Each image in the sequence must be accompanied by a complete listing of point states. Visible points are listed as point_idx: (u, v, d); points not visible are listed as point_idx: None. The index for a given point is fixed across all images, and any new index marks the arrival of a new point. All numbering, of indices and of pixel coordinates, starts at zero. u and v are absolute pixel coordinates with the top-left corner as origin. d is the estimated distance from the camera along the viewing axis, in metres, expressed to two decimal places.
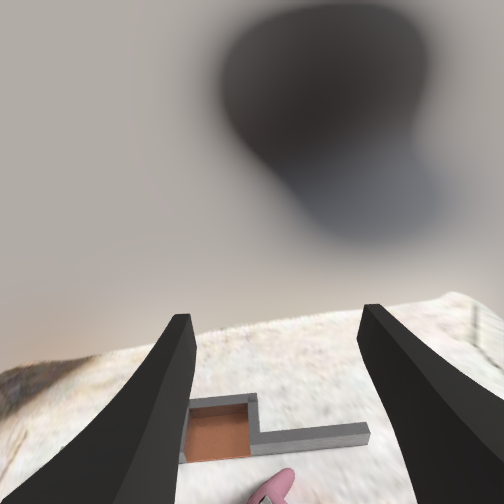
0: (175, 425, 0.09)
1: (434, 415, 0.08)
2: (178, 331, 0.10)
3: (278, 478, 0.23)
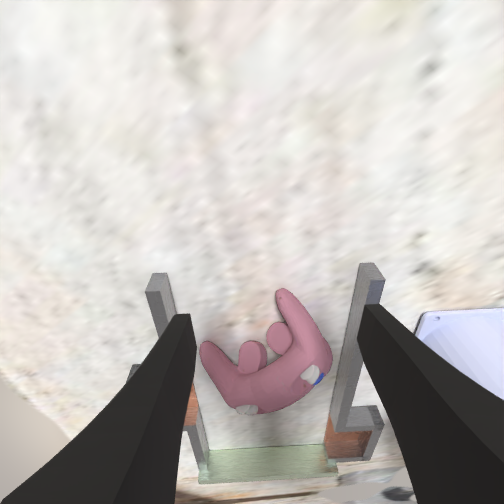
0: (175, 425, 0.09)
1: (434, 415, 0.08)
2: (178, 331, 0.10)
3: (215, 381, 0.23)
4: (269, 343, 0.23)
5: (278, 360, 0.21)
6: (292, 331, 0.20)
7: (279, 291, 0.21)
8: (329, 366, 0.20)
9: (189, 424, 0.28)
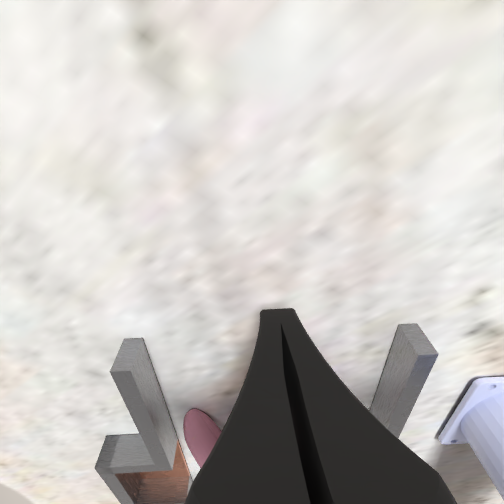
0: None
1: (303, 422, 0.08)
2: (275, 326, 0.10)
3: None
4: None
5: None
6: None
7: None
8: None
9: (178, 501, 0.23)
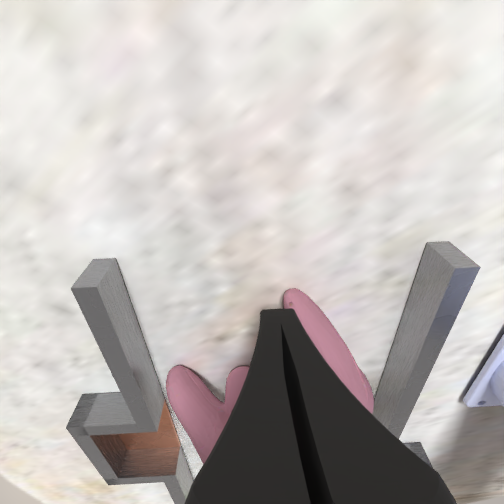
0: None
1: (303, 422, 0.08)
2: (275, 325, 0.10)
3: (188, 430, 0.15)
4: None
5: None
6: None
7: (289, 293, 0.13)
8: None
9: (166, 473, 0.20)
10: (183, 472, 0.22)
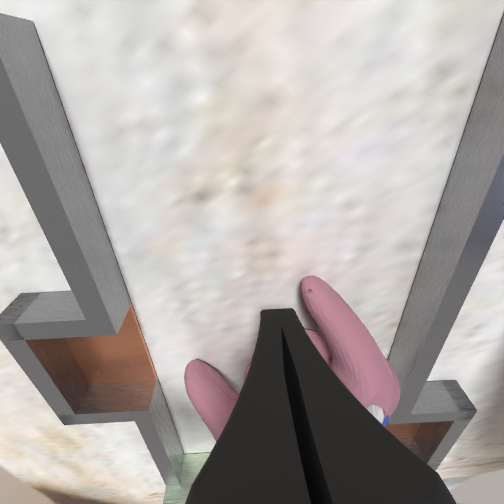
0: None
1: (303, 422, 0.08)
2: (275, 326, 0.10)
3: (209, 424, 0.14)
4: None
5: None
6: (333, 346, 0.12)
7: (307, 280, 0.13)
8: (396, 403, 0.12)
9: (137, 409, 0.16)
10: (161, 414, 0.18)
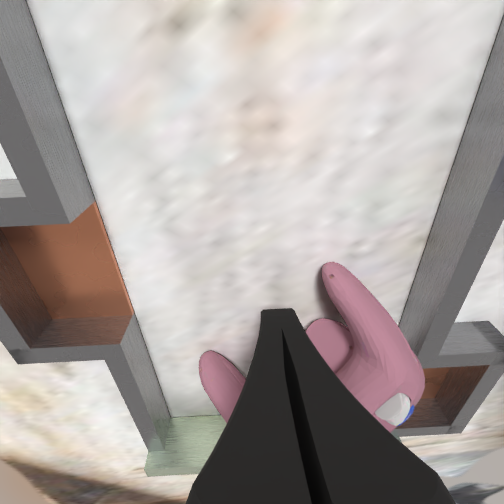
0: None
1: (303, 422, 0.08)
2: (276, 325, 0.10)
3: (225, 415, 0.14)
4: None
5: None
6: (356, 333, 0.12)
7: (328, 266, 0.12)
8: (421, 392, 0.12)
9: (107, 343, 0.13)
10: (139, 358, 0.15)
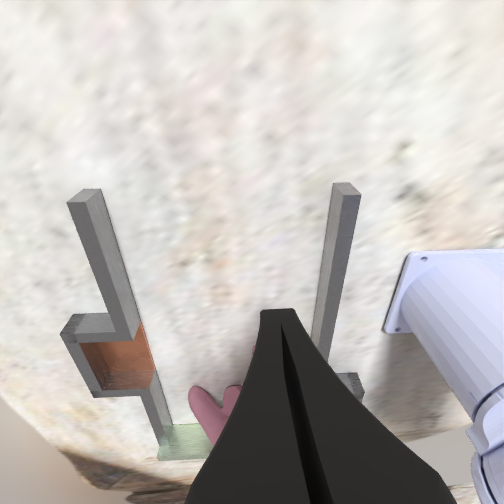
0: None
1: (304, 422, 0.08)
2: (275, 325, 0.10)
3: (202, 424, 0.26)
4: None
5: None
6: None
7: None
8: None
9: (142, 387, 0.25)
10: (157, 393, 0.27)
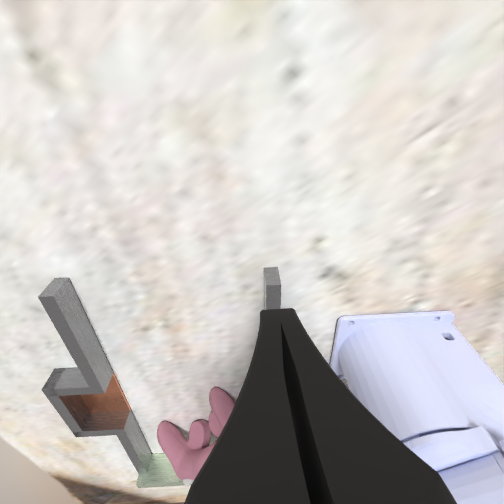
0: None
1: (304, 422, 0.08)
2: (275, 326, 0.10)
3: (168, 457, 0.29)
4: (210, 426, 0.29)
5: (212, 445, 0.27)
6: (220, 425, 0.27)
7: (211, 392, 0.27)
8: None
9: (117, 428, 0.28)
10: (133, 430, 0.30)
